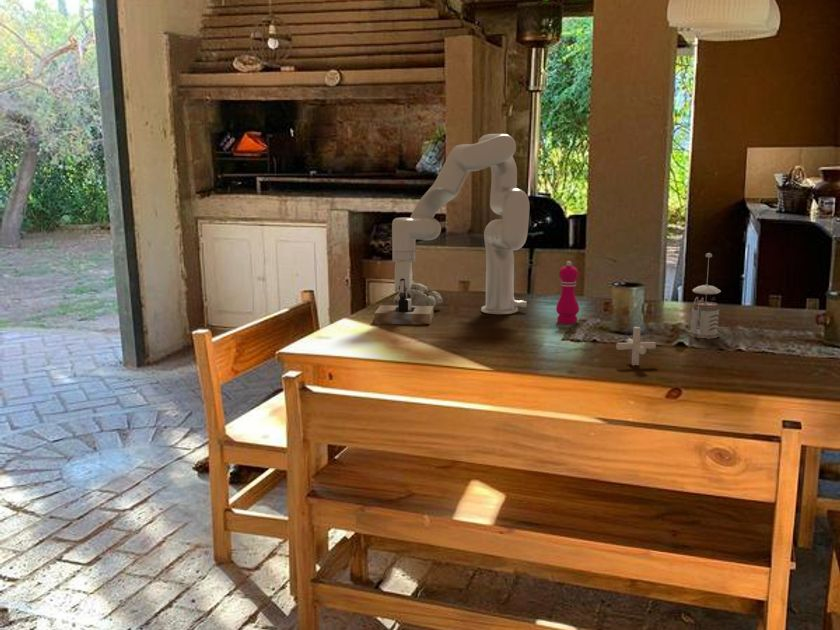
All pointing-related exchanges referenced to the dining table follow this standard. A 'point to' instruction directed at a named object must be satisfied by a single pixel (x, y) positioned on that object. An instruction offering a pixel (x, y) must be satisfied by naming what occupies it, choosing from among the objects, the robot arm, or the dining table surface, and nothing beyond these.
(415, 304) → the mineral
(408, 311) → the white glossy cylinder
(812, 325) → the dining table surface
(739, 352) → the dining table surface
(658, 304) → the dining table surface
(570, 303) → the pepper mill
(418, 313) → the frame
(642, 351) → the pipe connector
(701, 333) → the french press
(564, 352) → the dining table surface
